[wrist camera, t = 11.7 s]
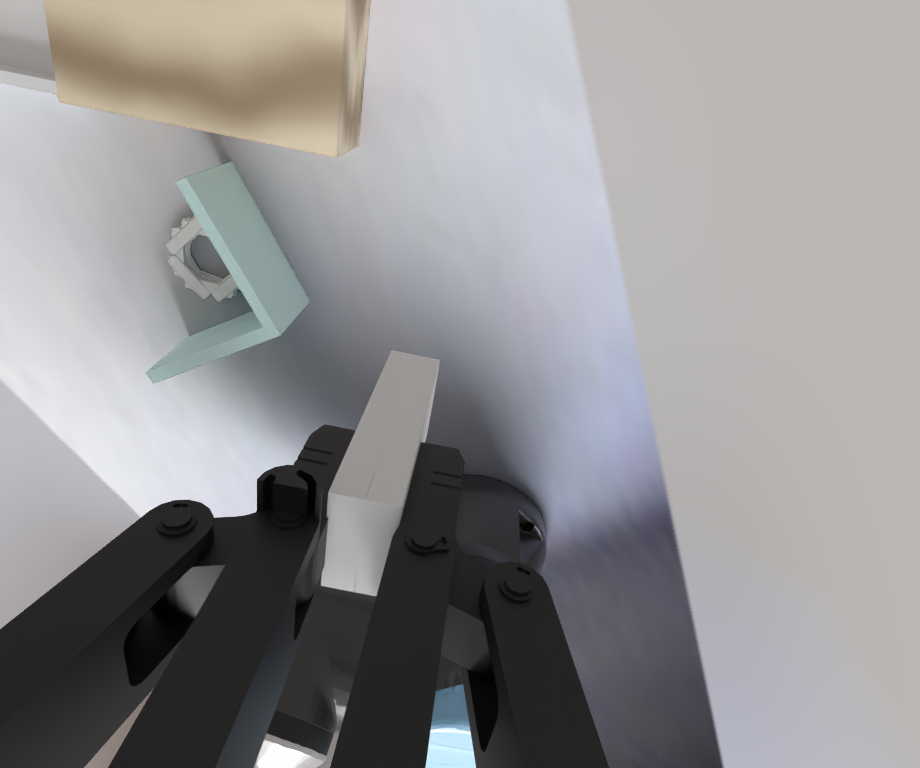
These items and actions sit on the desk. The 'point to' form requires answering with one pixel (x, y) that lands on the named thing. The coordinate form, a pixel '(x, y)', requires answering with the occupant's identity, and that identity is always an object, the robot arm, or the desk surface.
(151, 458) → the desk surface
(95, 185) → the desk surface
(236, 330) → the l-shaped corner panel
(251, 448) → the desk surface
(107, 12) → the plate
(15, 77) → the box
